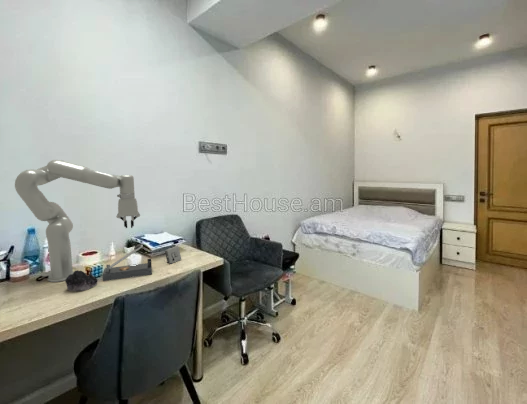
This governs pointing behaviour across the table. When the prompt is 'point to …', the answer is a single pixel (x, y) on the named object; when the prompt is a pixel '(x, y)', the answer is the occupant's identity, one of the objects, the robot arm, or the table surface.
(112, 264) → the thin grey rod
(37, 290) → the table surface
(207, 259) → the table surface
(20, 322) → the table surface
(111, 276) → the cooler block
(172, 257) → the electrical switch
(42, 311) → the table surface
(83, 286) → the crystal cluster
